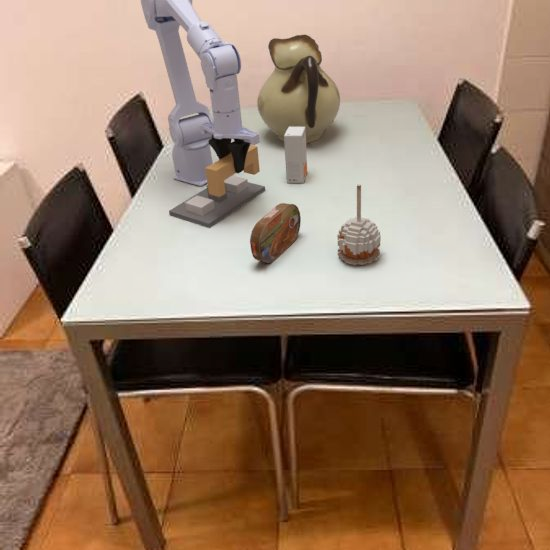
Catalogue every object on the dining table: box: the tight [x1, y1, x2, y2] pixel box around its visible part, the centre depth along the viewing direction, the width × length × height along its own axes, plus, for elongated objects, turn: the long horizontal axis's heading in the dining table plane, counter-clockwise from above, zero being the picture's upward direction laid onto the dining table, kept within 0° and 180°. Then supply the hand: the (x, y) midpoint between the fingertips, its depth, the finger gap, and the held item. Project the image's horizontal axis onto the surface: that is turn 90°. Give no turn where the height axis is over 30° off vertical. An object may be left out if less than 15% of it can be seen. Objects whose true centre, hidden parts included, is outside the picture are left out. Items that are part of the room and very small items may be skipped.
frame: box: [205, 145, 261, 197], centre depth 129 cm, size 3×14×6 cm, turn 144°
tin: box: [249, 202, 302, 264], centre depth 116 cm, size 15×3×8 cm, turn 148°
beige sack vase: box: [256, 34, 341, 144], centre depth 160 cm, size 22×24×25 cm
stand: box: [168, 175, 266, 228], centre depth 136 cm, size 12×20×4 cm, turn 144°
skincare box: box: [283, 127, 308, 184], centre depth 141 cm, size 6×4×12 cm
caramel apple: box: [336, 184, 381, 266], centre depth 110 cm, size 8×8×15 cm
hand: (233, 169), depth 129 cm, fingers closed on frame, 3 cm apart
